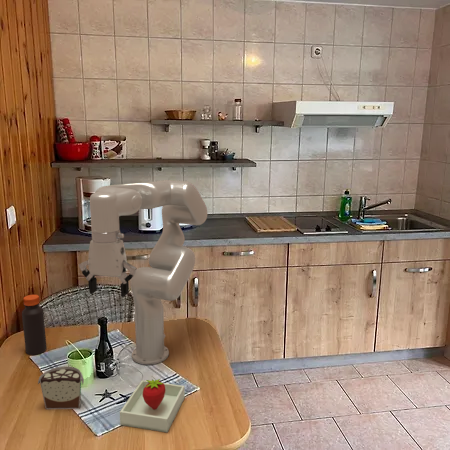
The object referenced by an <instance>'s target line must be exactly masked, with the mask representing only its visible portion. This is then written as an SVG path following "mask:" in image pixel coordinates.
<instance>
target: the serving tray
mask: <svg viewBox="0 0 450 450" xmlns="http://www.w3.org/2000/svg"><path fill="white" fill-rule="evenodd" d="M148 383H149V382H148V381H146V380H144V379H141V381H140V382H139V384H138V385H137V386H136V388H135V390H134V391H133V392H132V394H131V395H130V397H129V398H128V399H127V401H126V402H125V404H124V405H123V406H122V408H121V410H119V425H120V426H122V427H123V426H125V427H131V428H137V429H142V430H149V431H154V432H161V433H168V432H169V431H170V429H171V426H172V424H173V422H174V420H175V418H176V416H177V415H178V413H179V411H180V408H181V406H182V404H183V402H184V400H185V395H186V394H185V393H186V392H185V391H186V390H185V388H186V387H185V385H180V384H174V383H173V384H172V383H165V382H162V383H163V384H164V385H165V389H166V391H165V395H164V398H163V400H162V402H161V403H160V405H159V406H158V408H157V409H155V410H154V409H152V408H151V407H150V406H148V405H147V404H146V403H145V401H144V398H143V389H144V388H145V386H146V385H147V384H148Z"/></svg>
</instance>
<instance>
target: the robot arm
mask: <svg viewBox="0 0 450 450" xmlns="http://www.w3.org/2000/svg"><path fill="white" fill-rule="evenodd" d="M156 208H161V220H162V233H161V235H160V236H159V238H158V240H157V241H156V244H155V245H154V246H153V249H152V250H151V252H150V253H149V256H148V264H149V266H142V267H138V268H137V267H135V266H134V265H133V264H131V263H129V262H128V259H127V253H126V248H125V243H124V240H123V239H124V238H125V234H124V233H122V232H121V229H120V217H121V216H130V215H134V214H136V213H137V212H139V210H152V209H156ZM89 210H90V226H91V240H89V247H88V259H87V260H85V261H82V262H81V263H79V264H78V267H79V269H80V271H81V274H82V275H83V277H85V279H86V281H87V282H88V284H87V286H88V290H89V294H90V295H92V294H94V293H95V292H97V290H98V284H97V283H98V281H97V277H96V276H98V277H99V276H100V277H110V278H114V277H115V278H118V279H119V281H120V282H121V283H120V297H121V298H124V297H126V296H127V295H128V294H129V293H130V292H129V291H130V289H131V293H132V298H133V304H134V323H135V326H134V327H135V348H134V349H133V350H132V352H131V359H132V360H133V361H134V362H136V363H137V364H140V365H147V366H148V365H157V364H159V363H162V362H164V361H165V360H167V359H168V357H169V355H170V351H169V348H168V347H167V346H165V338H166V334H165V329H164V327H165V324H164V323H165V322H164V320H165V319H164V304H163V301H168V302H169V301H170V302H171V301H176V300H177V299H178V298H179V297H180V295H181V294H182V292H183V290H184V288H185V286H186V284H187V283H188V281H189V278H190V277H191V275H192V273H193V270H194V267H195V263H196V255H195V252H194V251H193V249H191V248H189V247H187V246H183V245H184V243H185V238H186V237H185V235H184V232H183V230H182V228H181V226H180V224H182V225H183V224H184V225H189V226H191V225H192V226H200V225H202V224H204V223H205V222H206V220H207V219H208V207H207V205H206V203H205V201H204V199H203V197H202V196H201V193H199V190H198V189H197V188H196V187H195V185H194V184H193V183H192V182H190V181H186V180H170V179H163V180H157V181H156V180H155V181H148V182H136V183H121V184H112V185H111V184H110V185H104V186H101V187H99V188H97V189H96V190H95V192H93V193H92V194H91V195H90V197H89ZM87 266H88V268H87ZM128 271H129V274H127V272H128ZM129 282H130V287H129ZM162 300H163V301H162Z"/></svg>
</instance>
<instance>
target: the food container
mask: <svg viewBox="0 0 450 450" xmlns="http://www.w3.org/2000/svg"><path fill="white" fill-rule="evenodd" d="M84 382H85V381H84V376H83V373H82V372H81V370H80V369H79V368H77V367H74V366H65V365H64V366H58V367H55V368H51V369H49V370H47V371H44V372H43V373H42V374H40V376H39V378H38V381H37V385H39V384H40V389H41V393H42V398H43V402H44V407H45V410H80V408H81V399H82V398H81V397H82V385H83V384H84Z"/></svg>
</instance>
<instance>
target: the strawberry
mask: <svg viewBox="0 0 450 450" xmlns="http://www.w3.org/2000/svg"><path fill="white" fill-rule="evenodd" d="M151 378H153V379H151V380H150V379H146V380H145V381H148V382H149V383H148V384H147V385H146V386H145V388H144V389H143V398H144V401H145V403H146V404H147V405H148V406H150V407H151V408H152V409H154V410H155V409H157V408H158V406H159V405H160V403H161V402H162V400H163V398H164V395H165V391H166V389H165V385H164V384H163V383H164V382H162V381H160V380H161V378H158V379H156V378H155V377H153V376H152V375H151Z"/></svg>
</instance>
